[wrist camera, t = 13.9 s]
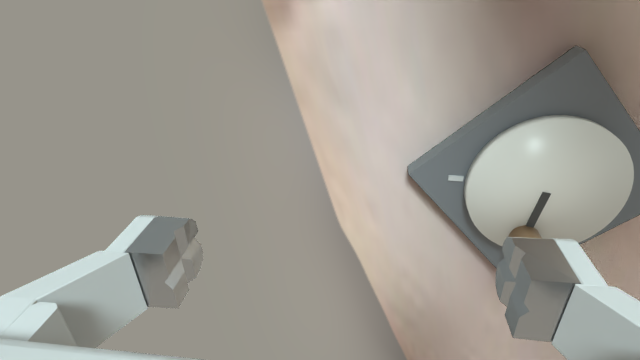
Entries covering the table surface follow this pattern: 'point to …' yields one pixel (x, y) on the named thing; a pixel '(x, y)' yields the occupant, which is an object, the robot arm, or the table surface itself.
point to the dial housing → (518, 106)
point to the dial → (549, 180)
